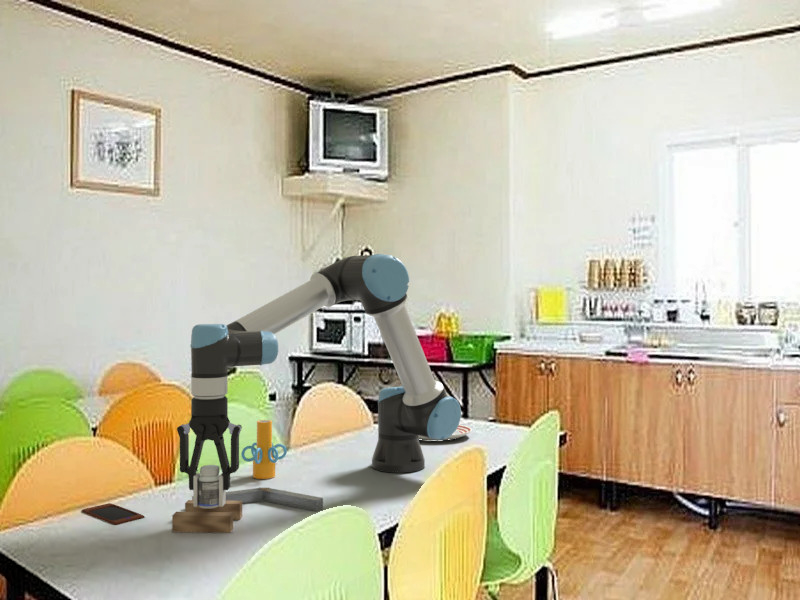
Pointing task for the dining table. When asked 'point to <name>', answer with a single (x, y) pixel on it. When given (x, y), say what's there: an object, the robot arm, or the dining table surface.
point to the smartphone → (113, 514)
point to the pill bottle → (209, 487)
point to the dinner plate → (462, 429)
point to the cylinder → (264, 452)
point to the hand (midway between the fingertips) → (209, 504)
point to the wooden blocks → (207, 518)
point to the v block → (276, 498)
